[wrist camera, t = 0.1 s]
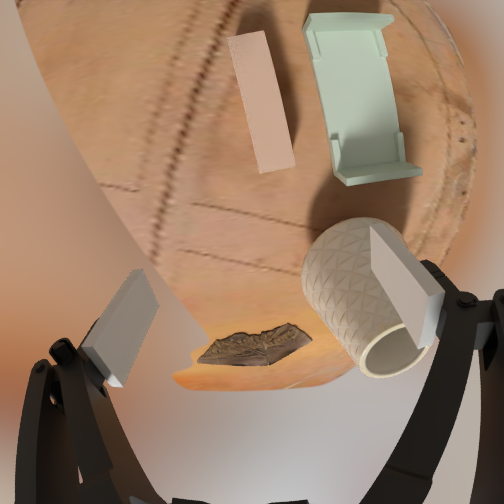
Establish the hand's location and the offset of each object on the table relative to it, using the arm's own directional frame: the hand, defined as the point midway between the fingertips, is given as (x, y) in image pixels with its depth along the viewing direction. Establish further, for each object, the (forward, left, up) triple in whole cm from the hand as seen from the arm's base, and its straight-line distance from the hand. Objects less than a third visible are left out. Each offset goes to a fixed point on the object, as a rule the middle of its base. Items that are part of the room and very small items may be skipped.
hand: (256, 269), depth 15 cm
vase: (+16, +12, -28) cm, 34 cm away
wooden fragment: (+35, -9, -28) cm, 46 cm away
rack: (-9, +17, -28) cm, 34 cm away
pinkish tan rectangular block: (-10, +3, -28) cm, 30 cm away
